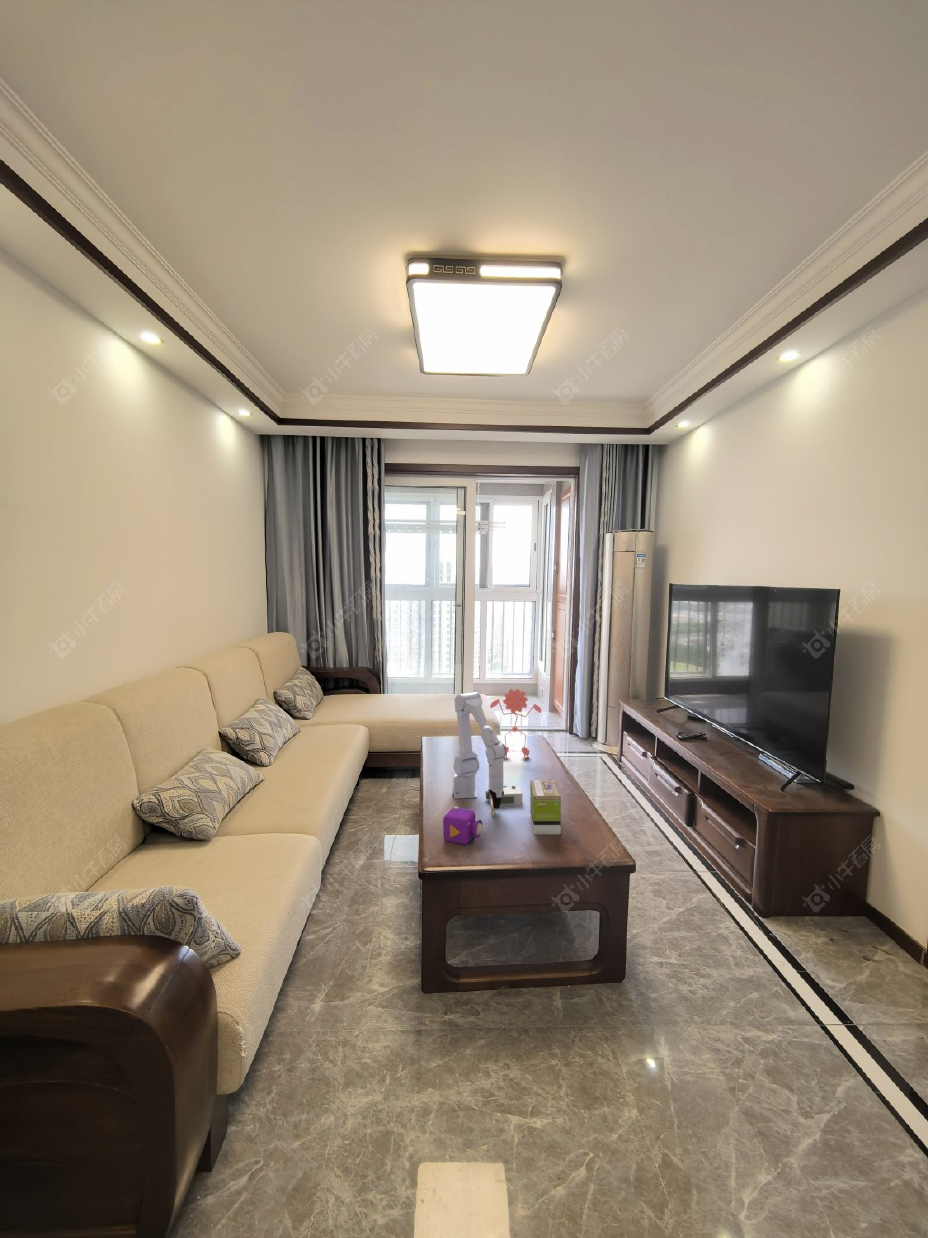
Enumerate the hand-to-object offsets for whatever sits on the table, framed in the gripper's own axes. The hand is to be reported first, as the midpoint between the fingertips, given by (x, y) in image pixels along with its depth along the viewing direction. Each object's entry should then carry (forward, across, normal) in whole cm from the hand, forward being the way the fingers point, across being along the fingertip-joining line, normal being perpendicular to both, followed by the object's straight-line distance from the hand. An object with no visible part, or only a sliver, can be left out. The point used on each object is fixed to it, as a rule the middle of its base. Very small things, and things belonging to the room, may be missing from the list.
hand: (496, 808), depth 212 cm
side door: (+2, +1, +1) cm, 3 cm away
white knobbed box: (+2, +10, -5) cm, 12 cm away
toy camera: (+2, -20, +15) cm, 25 cm away
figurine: (+2, +64, -20) cm, 67 cm away
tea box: (+2, -13, -16) cm, 21 cm away
